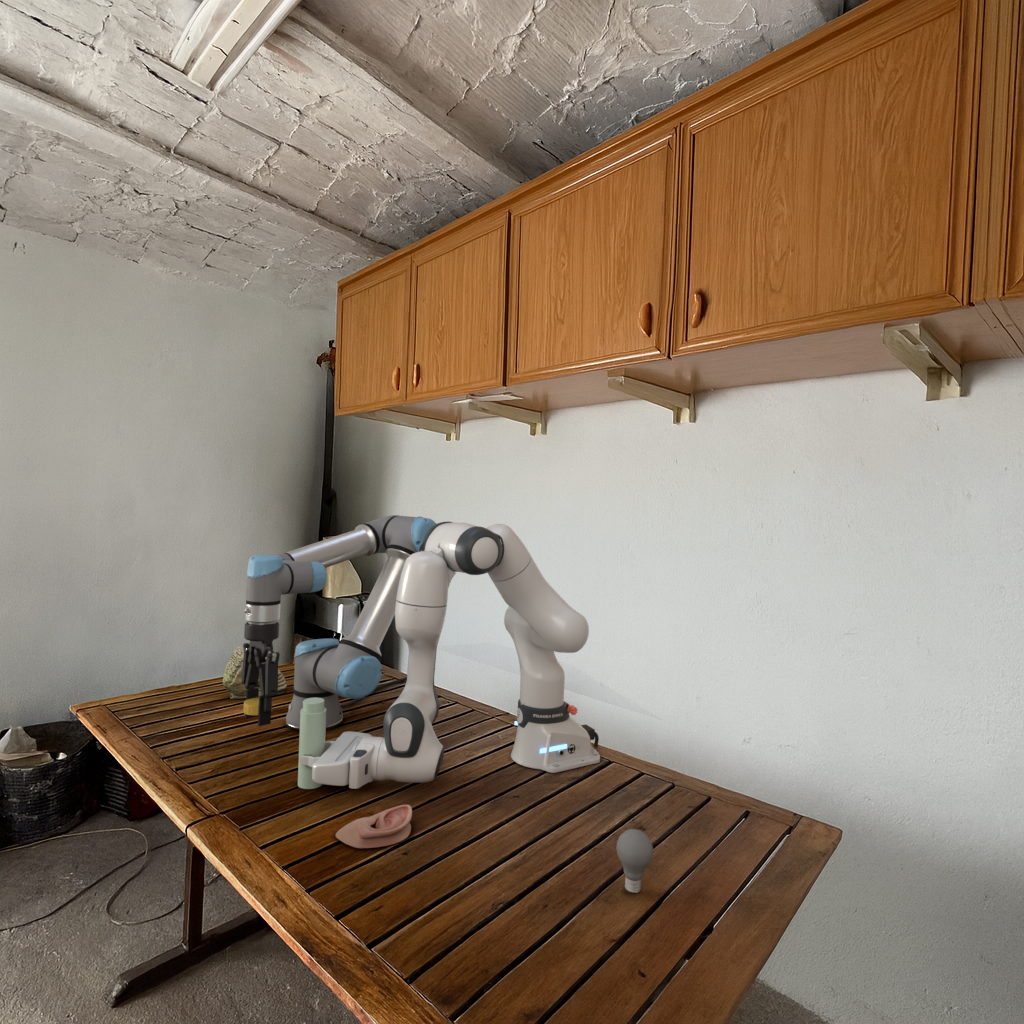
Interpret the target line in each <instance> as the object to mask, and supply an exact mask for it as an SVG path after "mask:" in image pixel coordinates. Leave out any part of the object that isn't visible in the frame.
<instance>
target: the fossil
mask: <svg viewBox="0 0 1024 1024" xmlns="http://www.w3.org/2000/svg"><path fill="white" fill-rule="evenodd" d="M243 656H244V650H243V646H238V647H237V648H236V649H235V650H233V651H232V653H231V656H230V657H229V659H228V660H227V663H226V666H225V668H224V671H223V675H222V676H223V677H222V685H223V687H224V688H225V690H226V691H228V693H229V698H230V699H246V690H247V689H245V684H244V685H242V669H243ZM262 664H263V663H262ZM258 684H259V685H260V676H259V678H258ZM287 687H288V686H287V680H286V678H285V676H284V674H283V673H282V672H281V669H279V668H278V694H277V695H281V694H284V693H285V691H286V689H287ZM256 688H258V689H259V694H258V696H261V687H256ZM256 688H255V689H256Z"/></svg>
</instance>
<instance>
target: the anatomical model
mask: <svg viewBox="0 0 1024 1024" xmlns="http://www.w3.org/2000/svg"><path fill="white" fill-rule="evenodd" d="M412 817H413V808H412V806H411V805H410V804H401V805H396V806H393V807H390V808H388V809H385V810H382V811H380V812H378V813H375V814H373V815H370V816H364V817H361V818H357V819H355V820H352V821H350V822H349V823H346V824H345V825H344V826H342V827H341V828H340V829H338V830H337V832H335V838H336V839H337V840H338V841H341V842H342V843H344V844H345V845H348V846H349V847H352V848H355V849H372V848H373V849H374V848H381V847H388V846H391V845H395V844H397V843H400V842H402V841H404V840H405V839H408V837H409V836H410V834H411V831H412V824H411V821H412Z"/></svg>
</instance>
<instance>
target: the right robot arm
mask: <svg viewBox="0 0 1024 1024" xmlns="http://www.w3.org/2000/svg"><path fill="white" fill-rule="evenodd" d="M421 550H422V551H421ZM457 573H462V574H466V575H469V576H481V575H485V574H488V577H489V578H490V580H491V581H492V583H493V585H494V586H495V588H496V590H497V591H498V593H499V595H500V596H501V598H502V599H503V601H504V602H505V604H506V605H507V606H508V607H507V608H506V610H505V613H504V616H503V617H504V618H503V622H504V623H503V624H504V627H505V630H506V631H507V633H508V634H509V635H510V638H511V639H512V641H513V644H514V648H515V650H516V655H517V658H518V664H519V673H520V677H519V678H520V680H519V681H520V683H519V685H520V686H519V699H518V700H517V708H516V709H517V710H516V720H515V721H514V726H516V727H517V728H516V734H515V739H514V743H513V746H512V750H511V753H510V758H511V759H512V761H513V762H514V763H516V764H517V765H519V766H523V767H526V768H530V769H535V770H541V771H544V772H547V773H551V774H556V773H561V772H565V771H570V770H574V769H577V768H582V767H586V766H591V765H596V764H599V763H600V762H601V755H600V753H599V752H598V750H597V749H596V748H598V746H599V740H600V739H599V735H598V733H597V731H596V729H595V728H593V727H592V726H590V725H588V724H580V723H579V722H577V721H576V720H575V719H574V718H573V717H571V716H576V715H577V713H578V711H579V710H578V708H577V707H576V706H575V705H573V704H570V703H568V702H567V701H565V684H566V683H565V682H566V681H565V680H566V674H565V670H564V668H563V667H562V665H561V664H560V662H559V661H558V659H557V657H556V653H561V654H562V653H564V654H574V653H577V652H579V651H581V650H582V649H583V648H584V646H585V645H586V643H587V641H588V639H589V634H590V627H589V623H588V620H587V618H586V617H585V616H584V615H583V614H582V613H580V612H578V611H577V610H576V609H574V608H573V607H572V606H570V605H569V604H568V602H567V601H566V600H565V599H564V598H563V597H562V596H561V595H560V594H559V593H558V592H557V591H556V590H555V589H554V587H552V585H551V584H550V583H549V582H548V581H547V579H546V578H545V577H544V575H543V574H542V572H541V570H540V569H539V567H538V565H537V564H536V562H535V560H534V559H533V557H532V555H531V553H530V552H529V549H528V548H527V546H526V545H525V543H524V542H523V541H522V540H521V538H520V537H519V536H518V535H517V533H516V532H515V531H514V530H513V529H512V528H511V526H509V525H507V524H505V523H495V524H492V525H489V526H487V527H484V526H480V525H479V526H478V525H474V524H471V523H467V522H453V521H441V522H438V523H436V524H435V525H433V526H432V527H431V528H430V529H429V530H428V531H427V533H426V535H425V537H424V539H423V543H422V544H421V546H420V548H419V552H416V553H413V554H411V555H410V556H409V557H408V558H407V559H406V561H405V564H404V567H403V570H402V573H401V577H400V581H399V586H398V591H397V598H396V606H395V615H394V621H395V622H394V623H395V630H396V632H397V634H398V635H399V637H400V638H402V639H403V640H404V641H405V642H406V644H407V648H408V660H407V673H406V677H407V680H405V684H404V688H403V689H402V691H401V693H400V694H399V695H398V697H397V699H396V700H395V701H393V703H392V704H391V705H390V706H389V708H388V709H387V710H386V712H385V714H384V717H383V720H382V727H383V736H373V735H372V734H370V733H366V732H361V731H360V732H359V731H351V730H350V731H349V730H347V731H343V732H342V733H341V734H340V735H339V736H338V737H337V739H335V740H328V741H325V753H324V754H323V755H322V756H321V757H316V758H315V757H312V756H311V754H304V755H303V756H302V757H301V759H300V763H301V765H308V766H310V767H312V780H313V781H314V782H316V783H318V784H323V785H326V786H335V787H336V786H337V787H345V786H347V785H348V788H349V789H351V790H352V789H353V790H356V789H360V788H361V787H363V786H365V785H367V784H368V783H372V782H374V781H379V782H382V781H387V780H390V781H391V780H392V781H395V782H397V783H404V784H405V783H406V784H407V783H408V784H422V783H430V782H432V781H434V780H435V779H436V778H437V777H438V775H439V774H440V771H441V767H442V765H443V762H444V757H445V747H444V745H443V744H442V743H441V742H440V740H439V739H438V737H437V734H436V732H435V730H434V728H433V727H434V726H433V724H434V722H435V721H436V719H437V718H438V716H439V712H440V701H439V697H438V693H437V690H436V687H435V673H436V661H437V652H438V651H437V649H438V645H439V642H440V638H441V634H442V632H443V628H444V624H445V619H446V615H447V609H448V608H447V607H448V600H449V599H448V598H449V589H450V588H449V587H450V586H451V585H450V584H451V583H452V581H453V578H454V577H455V575H456V574H457ZM570 715H571V716H570ZM592 741H594V743H593V746H592Z"/></svg>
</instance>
